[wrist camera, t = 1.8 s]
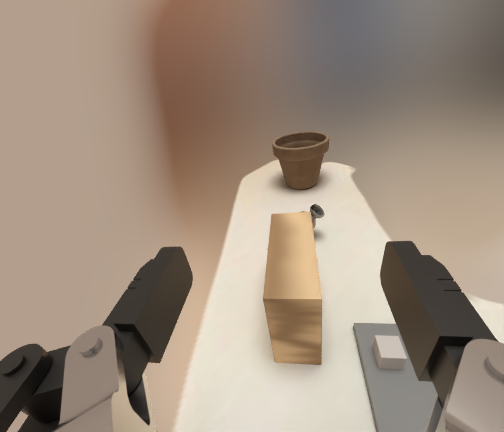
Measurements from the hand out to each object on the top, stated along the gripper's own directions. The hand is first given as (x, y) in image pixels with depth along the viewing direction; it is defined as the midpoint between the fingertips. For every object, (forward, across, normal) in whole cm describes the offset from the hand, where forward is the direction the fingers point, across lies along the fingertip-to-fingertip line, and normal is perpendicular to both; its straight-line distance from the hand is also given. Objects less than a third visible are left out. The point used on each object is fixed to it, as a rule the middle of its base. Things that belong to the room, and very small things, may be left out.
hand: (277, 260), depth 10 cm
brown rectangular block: (+11, 0, +19) cm, 22 cm away
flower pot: (+44, -2, +19) cm, 48 cm away
